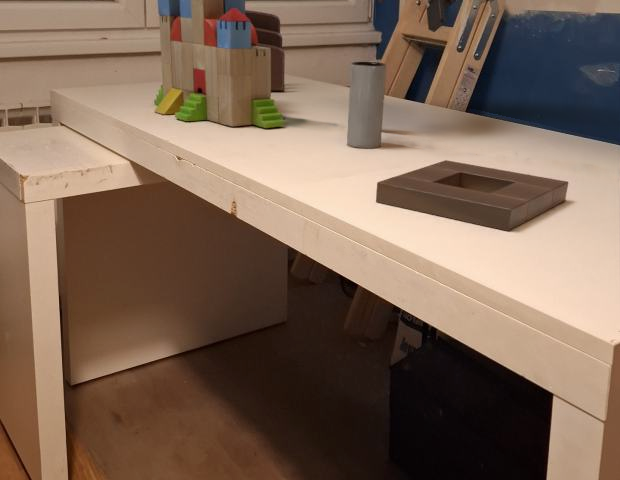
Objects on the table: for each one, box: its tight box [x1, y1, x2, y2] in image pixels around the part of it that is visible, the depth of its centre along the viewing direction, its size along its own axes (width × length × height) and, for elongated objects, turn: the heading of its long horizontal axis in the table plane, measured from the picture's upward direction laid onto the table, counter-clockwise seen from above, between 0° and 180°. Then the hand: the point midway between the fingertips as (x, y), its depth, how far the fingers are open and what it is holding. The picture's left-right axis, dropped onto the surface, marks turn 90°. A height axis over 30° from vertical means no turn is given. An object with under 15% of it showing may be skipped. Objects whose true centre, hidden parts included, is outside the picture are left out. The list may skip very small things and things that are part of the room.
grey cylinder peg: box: [346, 61, 387, 149], centre depth 99 cm, size 4×4×10 cm
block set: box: [153, 0, 286, 129], centre depth 115 cm, size 28×14×19 cm, turn 37°
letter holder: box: [245, 9, 286, 93], centre depth 145 cm, size 10×20×14 cm, turn 98°
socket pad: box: [375, 159, 569, 232], centre depth 76 cm, size 14×14×2 cm
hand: (411, 12), depth 92 cm, fingers open, 8 cm apart
